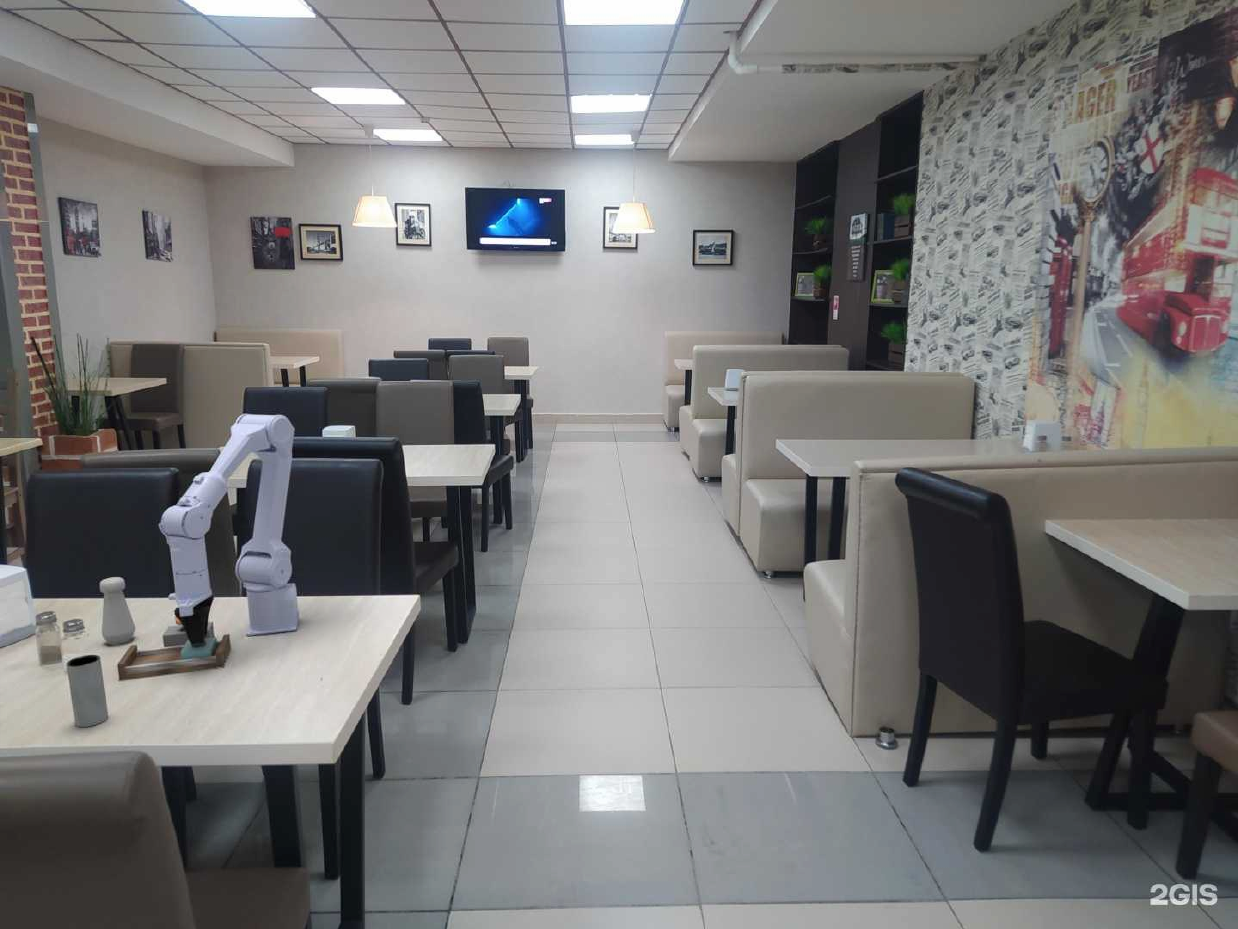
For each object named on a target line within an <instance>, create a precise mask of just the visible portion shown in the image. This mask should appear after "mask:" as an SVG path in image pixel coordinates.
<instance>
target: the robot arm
mask: <svg viewBox="0 0 1238 929" xmlns="http://www.w3.org/2000/svg"><path fill="white" fill-rule="evenodd" d="M230 435H231V436H230V438H228V441H227V443H226V444H225V446H224V448H223V449H222V451H221V452H220V454H219V455H218V457H217V458H216V461H215V462H214V464H213V465H212V467H211V469H210V470H209V471H208V472H201V473H199V474H198V475H196V476H194V478H193V480H192V481H193V482H192V483H191V485H190V486H189V487H188V488H187V490H186V492H184V494H183V495H182V497H180V498H179V500H178V502H177V504H176V505H172V506H170V507H168V508H167V509H166V510H165V511H164V512H163V514H162V515H161V519H160V523H158V527H159V530H160V532H161V533H162V535H164V536H165V538H166V544H167V545H168V546H169V552H170V560H171V567H172V569H171V570H172V576H173V584H174V592H173V593H170V594H169V595H168V600H169V601H175V602H176V603H177V605H178V607H176V608H174V615H175V616H176V617H177V618H178V619H179V620H180V622H181V623H182V625H183V627H184V629H185V631H186V634H187V637H188V639H189V641H190V643H191V644H197V643H203V641H204V634H205V637H206V635H207V629H208V622H209V618H210V611H211V608H212V604H213V602H214V600H215V599H214V598H215V597H214V595H213V591H212V589H211V584H210V576H209V568H208V559H207V558H208V557H207V550H206V541H205V535H206V533H208V532H209V531H210V528H211V522H212V521H211V520H212V517H213V515H214V510H215V509H216V508H217V506H218V505H219V503H220V501H221V500H222V499H223V497H224V496H225V495H226V493H227V492H228V490H229V488H228V482H227V481H228V480H229V479H230V477H231V476H233V474H234V472H235V471H236V470H237V469H238V468H239V467H240V466H241V464H242V463H243V462H244V461H245V460H246V459H247V457H248V456H249V455H250V454H251V453H252V454H255V455H256V456H257V457H258V459H260V461H261V462H262V466H261V473H260V474H261V475H260V480H259V481H260V482H259V486H258V487H259V489H258V496H257V503H256V512H255V518H254V524H253V532H252V533H253V534H252V538H251V539H249V540H248V541H247V542H246V543H245V544H244V545H242V547H241V552H240V555H239V556H238V560H237V561H236V563H235V567H234V568H235V570H234V571H235V576H236V578H237V580H238V581H239V582H241V583H242V585H243V588H244V589H245V590H246V599H247V607H248V608H247V609H248V616H249V617H248V618H249V625H248V628H247V630H246V633H245V635H246V636H248V637H250V636H256V635H258V636H259V635H266V634H267V635H268V634H275V633H282V632H283V633H284V632H293V631H297V629H298V628H297V627H298V624H299V620H300V610H299V604H298V596H297V594H298V592H297V586H296V583H288V582H289V580H290V578H291V577H292V573H293V572H292V571H293V567H292V566H293V565H292V561H291V555H292V551H291V549H290V548H289V547H288V546H287V545H286V544H285V543H284V542H283V541H282V537H283V529H284V521H285V514H286V506H287V500H288V498H287V497H288V493H289V492H288V490H289V483H290V477H291V470H292V469H291V468H292V461H293V451H292V450H293V446H294V445H293V444H294V436H295V427H294V425H293V424H292V423H291V421H290V420H289V418H288V417H287V416H285V415H283V414H275V415H274V414H273V415H271V414H270V415H269V414H251V413H243V414H241V415H239V416H238V417H237V419H236V420H235V422H234V424H233V425H232V426H231V427H230ZM262 553H264V554H262ZM265 553H267V554H265ZM175 616H174V617H175Z"/></svg>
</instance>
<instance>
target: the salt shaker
mask: <svg viewBox="0 0 1238 929" xmlns="http://www.w3.org/2000/svg"><path fill="white" fill-rule="evenodd" d="M125 588H126V583H125V580H124V578H122V577H119V576H114V577H113V576H112V577H108V578H105V579H103V580H101V581H100V582H99V592H101V593H102V594H103V606H102V609H103V610H102V623H101V635H102V637H103V639H104V640H105V642H106V643H107V645H110V646H119V645H125V644H127V643H128V642H130V641H132V640H133V637H134V635H135V632H136V625H135V623H134V619H133V616H132V614H131V612H130V608H129V606H128V603H127V600H126V598H125V594H124V592H123V590H124V589H125Z"/></svg>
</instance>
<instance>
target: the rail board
mask: <svg viewBox="0 0 1238 929" xmlns="http://www.w3.org/2000/svg"><path fill="white" fill-rule="evenodd" d="M216 642H217V649H216V651H215V653H214V655H213V656H209V657H201V658H193V659H184V660H181V654H180V653H181V651H182V649H183V647H184V645H179V646H170V647H164V646H163V647H155V648H145V649H138V646H137V645H138V644H132V645H130V646H129V647H128V649H127V650H126V652H125V653H124V654H123V656H122V657H121V658H120V660H119V662H117V664H116V666H117V672H118V674H117V675H118V679H119V680H118V681H124V680H133V679H141V678H149V677H150V678H151V677H157V676H165V675H173V674H182V673H188V672H189V673H190V672H195V671H196V670H198V671H204V670H203V669H206V670H212V669H211V668H214V669H220V668H219V667H222V668H224V666H225V664H226V662H227V660H228V657H229V654H230V652H231V650H232V645H231V637H230V633H228V634H226V633H225V634H223V636H222V637H221V640H216ZM227 656H228V657H227ZM226 659H227V660H226ZM224 663H225V664H224ZM217 667H218V668H217ZM201 669H202V670H201Z"/></svg>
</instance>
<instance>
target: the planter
mask: <svg viewBox="0 0 1238 929" xmlns="http://www.w3.org/2000/svg"><path fill="white" fill-rule="evenodd" d="M66 672H67V678H68V685H69V691H70V699H71V704H72V705H71V706H72V712H73V713H72V714H73V718H74V724H75V726H76V727H80V728H87V727H93V725H94V726H96V725H99V724H102V723H104V722H105V721H106V720H108V718H109V711H108V710H109V709H108V704H107V696H106V690H105V683H104V681H105V680H104V676H103V675H104V674H103V667H102V659H101V656H100V655H98V654H86V655H81V656H77V657H75V658H72V659H71V660H68V661H67V662H66Z"/></svg>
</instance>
